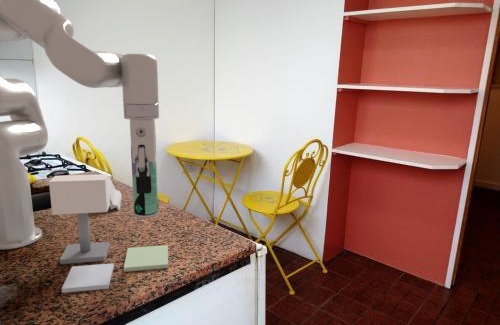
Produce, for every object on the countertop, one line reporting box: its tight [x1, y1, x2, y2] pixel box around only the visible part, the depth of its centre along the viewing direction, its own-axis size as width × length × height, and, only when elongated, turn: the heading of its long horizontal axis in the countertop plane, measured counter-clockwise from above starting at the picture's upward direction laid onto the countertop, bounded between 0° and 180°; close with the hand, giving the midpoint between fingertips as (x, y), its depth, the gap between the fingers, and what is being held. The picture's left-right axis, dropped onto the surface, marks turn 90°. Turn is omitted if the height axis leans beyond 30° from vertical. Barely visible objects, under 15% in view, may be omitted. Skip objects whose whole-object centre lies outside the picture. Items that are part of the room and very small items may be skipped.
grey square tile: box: [61, 262, 115, 294], centre depth 81 cm, size 9×9×1 cm
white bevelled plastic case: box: [108, 176, 122, 212], centre depth 127 cm, size 17×5×10 cm, turn 16°
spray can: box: [130, 131, 159, 219], centre depth 85 cm, size 6×6×20 cm
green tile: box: [123, 244, 169, 273], centre depth 90 cm, size 10×10×1 cm
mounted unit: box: [48, 173, 110, 265], centre depth 89 cm, size 12×8×20 cm, turn 103°
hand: (144, 188), depth 86 cm, fingers closed on spray can, 5 cm apart
